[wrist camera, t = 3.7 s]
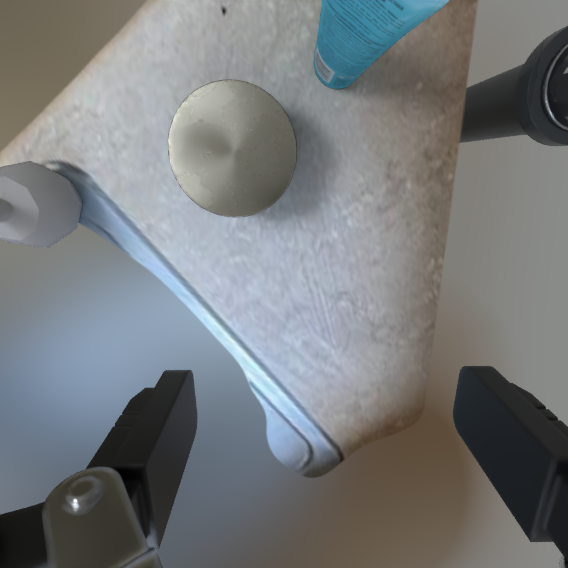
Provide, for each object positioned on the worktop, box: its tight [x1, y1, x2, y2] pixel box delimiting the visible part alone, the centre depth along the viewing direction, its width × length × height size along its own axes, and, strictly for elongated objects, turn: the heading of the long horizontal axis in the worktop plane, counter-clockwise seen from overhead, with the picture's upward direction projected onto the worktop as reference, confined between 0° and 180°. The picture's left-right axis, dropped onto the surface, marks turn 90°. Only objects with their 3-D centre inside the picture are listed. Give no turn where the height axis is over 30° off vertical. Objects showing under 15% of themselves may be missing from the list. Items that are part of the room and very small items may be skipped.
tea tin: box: [168, 80, 297, 217], centre depth 35 cm, size 11×11×8 cm
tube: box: [314, 0, 449, 89], centre depth 27 cm, size 7×5×19 cm, turn 63°
